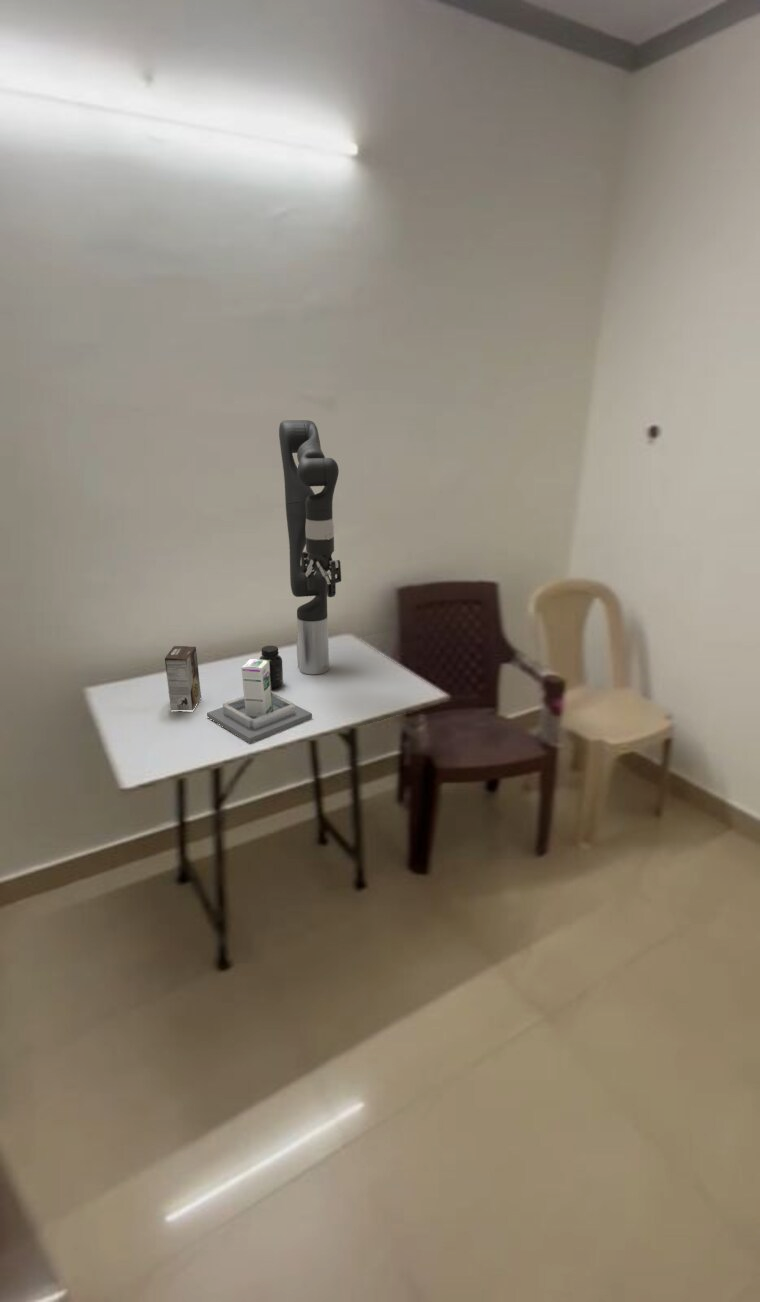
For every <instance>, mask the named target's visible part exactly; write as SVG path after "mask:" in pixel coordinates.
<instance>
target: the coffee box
mask: <svg viewBox="0 0 760 1302" xmlns="http://www.w3.org/2000/svg"><path fill="white" fill-rule="evenodd" d="M164 662H165V663H164V664H165V671H166V679H167V680H166V681H167V687H168V696H169V705H170V711H171V710H193V709H194V708H195V706H196V704H197V703H198V701H199V700H200V701H201V699H202V692H201V684H200V682H201V681H200V673H199V665H198V656H197V647H196V646H189V645H188V646H187V645H186V646H185V645H173V647H172V648H171V649H170V650H169V652H168V653H167V655H166V656H165V657H164ZM200 698H201V699H200ZM200 701H199V702H200ZM198 704H199V703H198ZM198 704H197V705H198ZM196 707H197V706H196ZM195 709H196V708H195Z"/></svg>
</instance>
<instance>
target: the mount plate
mask: <svg viewBox="0 0 760 1302" xmlns="http://www.w3.org/2000/svg"><path fill="white" fill-rule="evenodd" d="M294 705H295V714H294V715H292V716H289V717H287V718H284V719H281V720H279V721H276V722H274V723H271V724H269V725H266V726H264V727H261V728H259V729H256V730H253V729H248V728H247V727H245V726H243V725H242V724H240V723H238V722H236V721H235V720H233V719H231V718H230V717H228V716H226V715H224V712H223V706H222V707H220V708H216V709H214V710H213V709H212V710H211V711H208V712H207V713H206V716H207V717H209V718H210V719H212V720H214V721H215V722H217V723H218V724H217V723H216V724H217V725H219V724H220V725H221V727H222V726H223V727H224V729H225V728H226V729H225V730H227V731H228V730H229V731H228V732H230V731H231V732H230V733H232V734H233V733H234V735H235V734H236V735H235V736H237V735H238V736H240V737H241V738H240V737H239V738H240V739H242V738H243V739H244V740H243V739H242V740H243V741H245V742H247V743H248V742H249V744H252V742H253V743H254V741H255V742H258V741H260V740H262V738H263V739H264V738H268V737H269V736H273V735H275V734H277V733H279V732H282V731H285V730H286V729H289V728H292V727H294V726H297V725H300V724H301V723H304V722H307V721H309V720H311V719H313V714H312V712H310V711H309V710H306V709H304V708H302V707H300V706H298V705H296V704H294ZM278 709H281V708H280V707H278V706H276V705H274V704H273V709H272V710H271V712H273V711H276V710H278ZM237 710H238V711H240V712H241V713H243V714H245V715H246V711H245V707H243V708H240V709H237ZM248 717H250V716H248ZM209 718H208V719H209ZM250 718H252V719H255V718H257V717H250ZM210 719H209V720H210ZM212 720H211V721H212ZM214 721H213V722H214ZM215 722H214V723H215ZM220 725H219V726H220ZM223 727H222V728H223ZM238 736H237V737H238Z"/></svg>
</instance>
